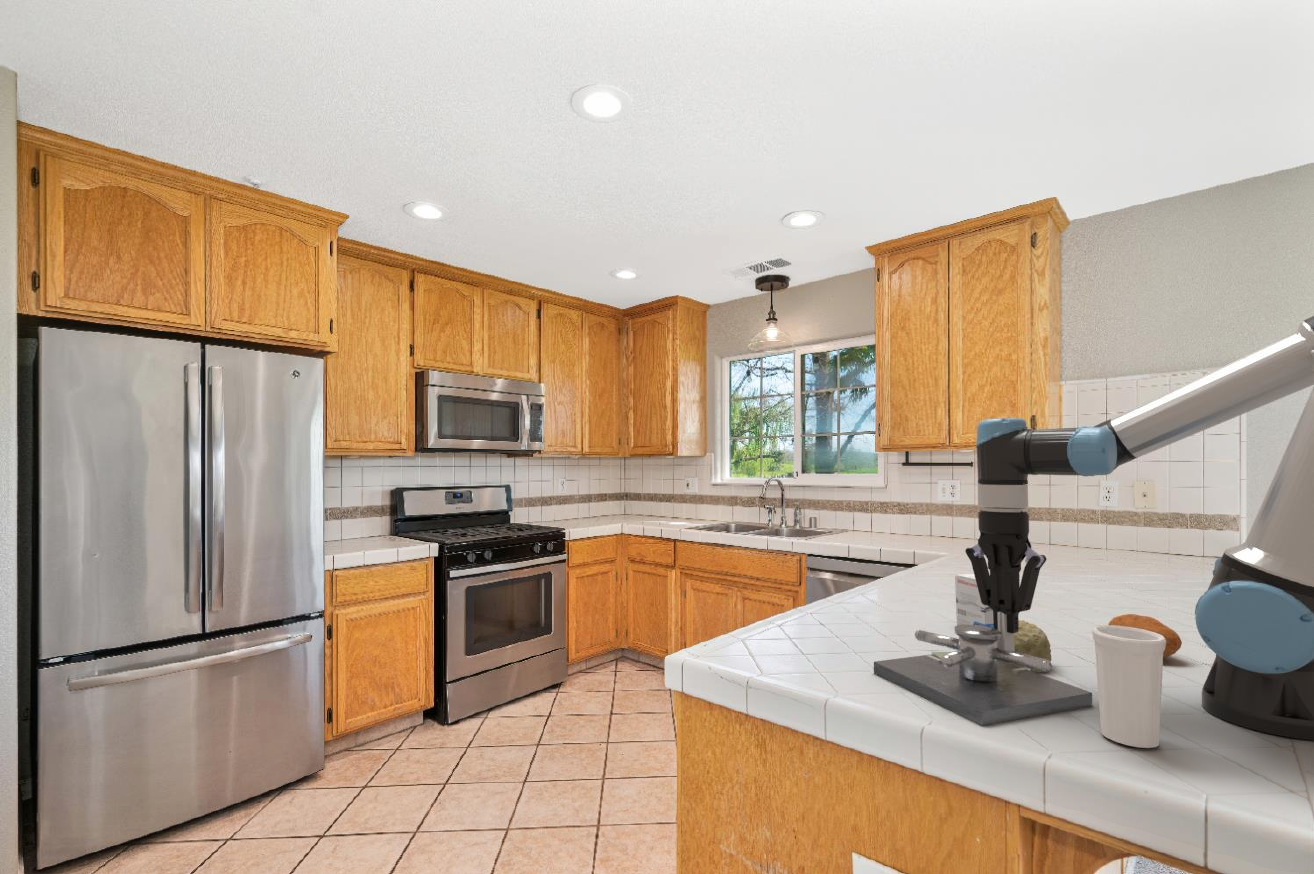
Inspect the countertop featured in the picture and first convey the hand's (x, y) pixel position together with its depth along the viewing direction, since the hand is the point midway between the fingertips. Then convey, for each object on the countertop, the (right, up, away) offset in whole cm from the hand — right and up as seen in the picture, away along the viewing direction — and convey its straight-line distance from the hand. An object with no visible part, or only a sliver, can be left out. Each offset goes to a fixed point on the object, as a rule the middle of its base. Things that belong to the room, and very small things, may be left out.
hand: (1006, 651), depth 107 cm
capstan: (-6, -3, -3) cm, 7 cm away
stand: (-6, -5, -3) cm, 9 cm away
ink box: (+12, -7, +32) cm, 35 cm away
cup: (+5, -5, -21) cm, 22 cm away
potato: (+35, -6, +15) cm, 39 cm away
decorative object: (+8, -6, +10) cm, 14 cm away
